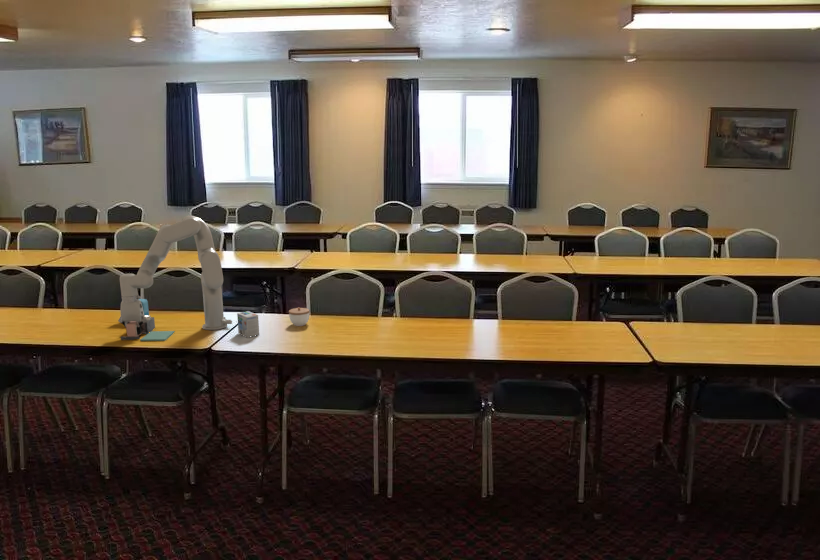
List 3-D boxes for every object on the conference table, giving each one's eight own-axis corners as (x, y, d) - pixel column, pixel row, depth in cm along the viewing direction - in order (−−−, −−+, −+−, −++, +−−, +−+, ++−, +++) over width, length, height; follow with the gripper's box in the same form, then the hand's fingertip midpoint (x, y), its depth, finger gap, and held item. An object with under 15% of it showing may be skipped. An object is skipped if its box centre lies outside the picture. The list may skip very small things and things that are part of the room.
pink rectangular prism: (141, 334, 333) (139, 320, 331) (135, 338, 326) (134, 324, 324) (133, 334, 333) (131, 320, 331) (127, 338, 326) (125, 324, 324)
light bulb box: (238, 333, 334) (236, 312, 331) (250, 331, 338) (248, 310, 336) (247, 338, 326) (246, 317, 323) (260, 335, 330) (258, 314, 328)
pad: (174, 332, 336) (174, 331, 336) (165, 340, 323) (164, 339, 322) (151, 332, 336) (151, 331, 336) (140, 341, 322) (140, 339, 322)
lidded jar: (285, 326, 345) (285, 309, 343) (295, 321, 355) (294, 304, 353) (304, 328, 342) (303, 310, 340) (313, 322, 352) (312, 305, 350)
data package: (149, 320, 360) (147, 299, 357) (145, 322, 355) (142, 301, 353) (130, 319, 362) (127, 298, 359) (125, 321, 357) (122, 300, 355)
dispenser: (155, 328, 344) (153, 313, 343) (140, 339, 325) (138, 323, 323) (136, 328, 344) (134, 313, 342) (119, 340, 325) (118, 324, 323)
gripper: (150, 296, 329) (153, 331, 333) (116, 297, 329) (120, 332, 333) (144, 300, 322) (148, 336, 325) (109, 301, 321) (114, 336, 325)
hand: (134, 333), depth 329 cm, fingers closed on pink rectangular prism, 4 cm apart
